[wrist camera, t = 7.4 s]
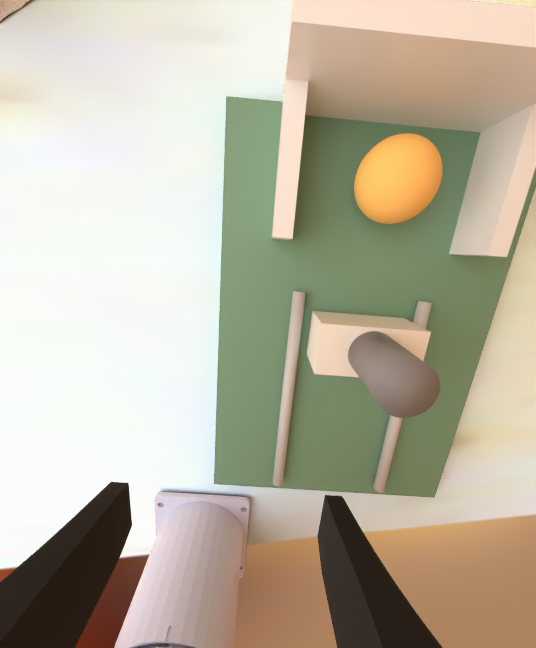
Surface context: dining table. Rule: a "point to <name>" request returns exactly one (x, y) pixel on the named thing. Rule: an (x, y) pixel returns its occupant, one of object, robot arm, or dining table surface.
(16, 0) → the condiment
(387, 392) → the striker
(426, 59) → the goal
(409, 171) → the ball
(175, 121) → the dining table surface
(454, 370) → the pitch
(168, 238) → the dining table surface
